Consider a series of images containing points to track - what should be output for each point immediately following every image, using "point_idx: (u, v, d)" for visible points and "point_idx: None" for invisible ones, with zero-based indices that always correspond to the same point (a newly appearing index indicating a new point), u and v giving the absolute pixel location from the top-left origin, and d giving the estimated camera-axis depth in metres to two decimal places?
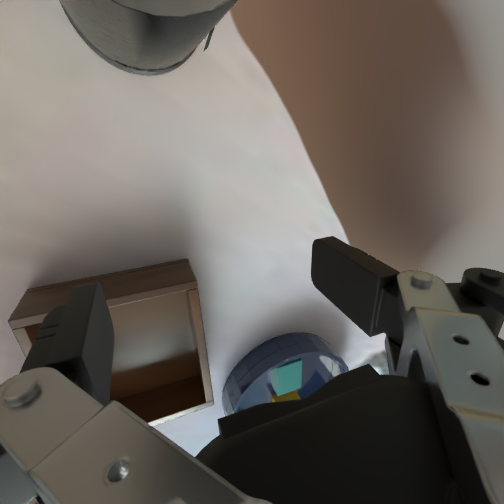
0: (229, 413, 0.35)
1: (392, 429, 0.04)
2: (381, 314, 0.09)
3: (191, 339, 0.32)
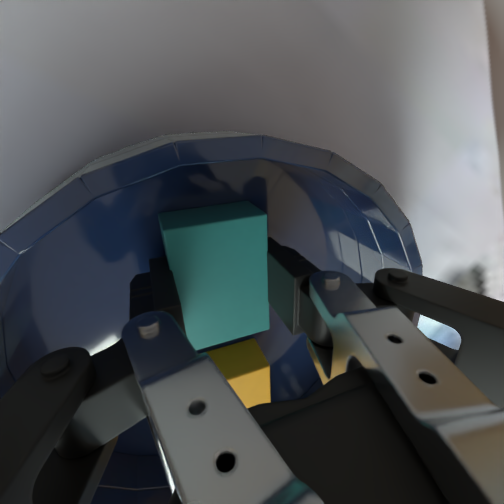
0: None
1: (392, 429, 0.04)
2: (300, 313, 0.09)
3: None
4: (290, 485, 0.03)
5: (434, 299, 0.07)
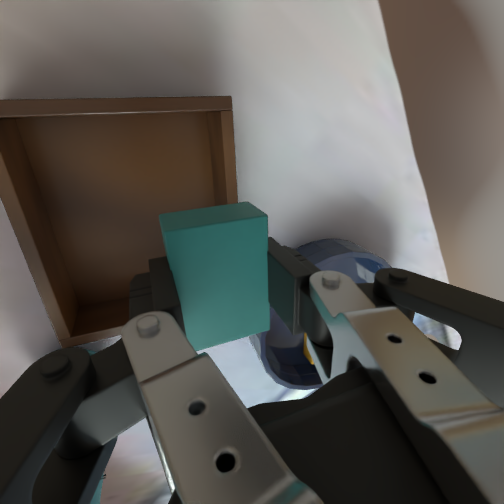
0: None
1: (392, 429, 0.04)
2: (300, 313, 0.09)
3: None
4: (290, 485, 0.03)
5: (434, 299, 0.07)
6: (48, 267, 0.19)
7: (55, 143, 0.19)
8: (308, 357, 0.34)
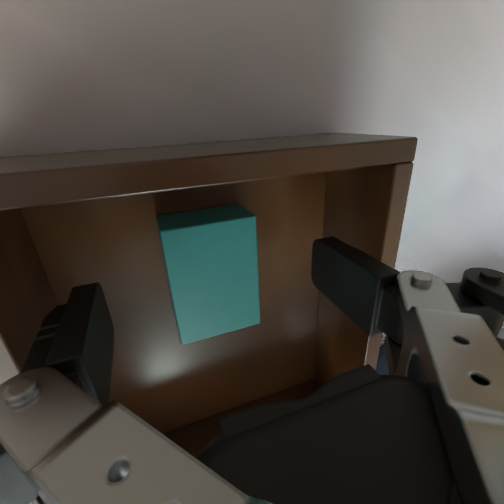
0: None
1: (392, 429, 0.04)
2: (381, 314, 0.09)
3: (315, 312, 0.17)
4: None
5: None
6: None
7: (84, 221, 0.11)
8: None
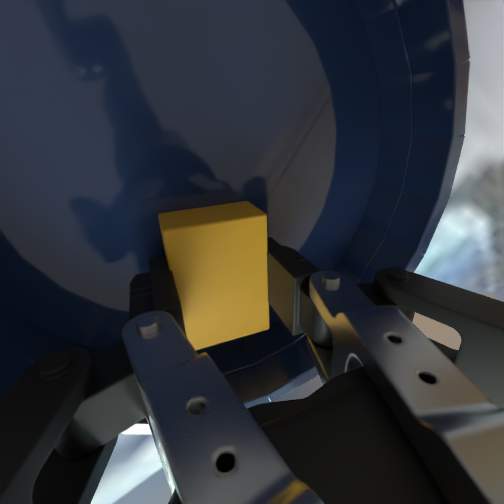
0: None
1: (392, 429, 0.04)
2: (300, 313, 0.09)
3: None
4: (290, 485, 0.03)
5: (434, 299, 0.07)
6: None
7: None
8: None
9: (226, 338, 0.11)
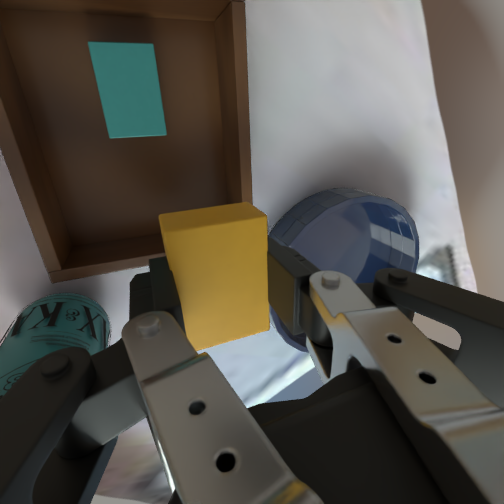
0: None
1: (392, 429, 0.04)
2: (300, 313, 0.09)
3: (221, 158, 0.23)
4: (290, 485, 0.03)
5: (434, 299, 0.07)
6: (34, 183, 0.16)
7: (43, 44, 0.17)
8: None
9: (226, 339, 0.11)
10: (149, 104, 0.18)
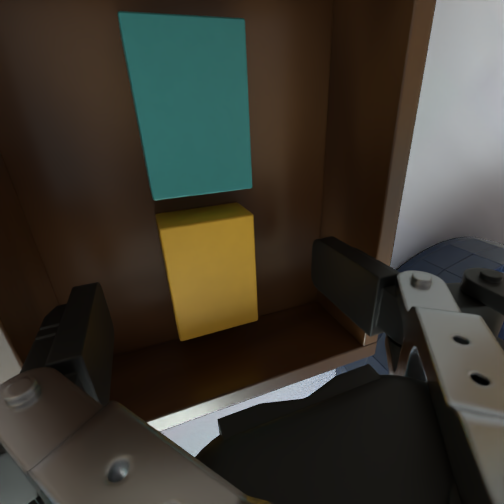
0: None
1: (392, 429, 0.04)
2: (381, 314, 0.09)
3: (318, 210, 0.14)
4: None
5: None
6: (8, 308, 0.08)
7: (25, 21, 0.08)
8: None
9: (218, 328, 0.12)
10: (228, 136, 0.10)
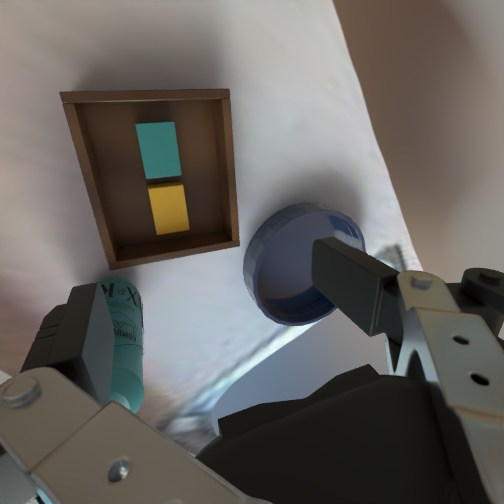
0: (252, 270, 0.37)
1: (392, 429, 0.04)
2: (381, 314, 0.09)
3: (217, 186, 0.34)
4: None
5: None
6: (103, 208, 0.27)
7: (106, 123, 0.27)
8: None
9: (172, 231, 0.32)
10: (171, 157, 0.29)
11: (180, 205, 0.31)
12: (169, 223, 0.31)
